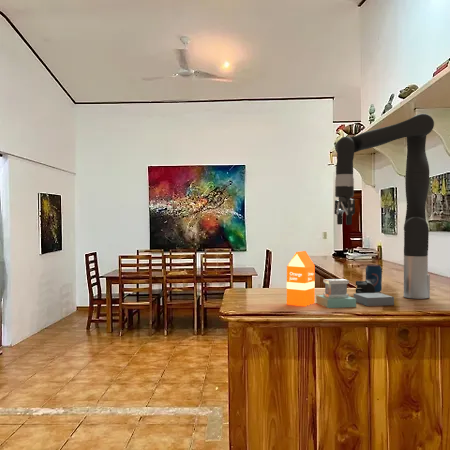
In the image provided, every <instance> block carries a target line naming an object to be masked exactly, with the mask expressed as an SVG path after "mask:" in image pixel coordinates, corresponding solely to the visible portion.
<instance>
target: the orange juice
mask: <svg viewBox="0 0 450 450" xmlns="http://www.w3.org/2000/svg"><path fill="white" fill-rule="evenodd" d="M315 266H316V265H315V264H314V262H313V260H312V259H311V257H310V256H309V255H308V253H307V251H306V250H302V251H296V252H295V253H294V255H293V257H292V258H291V260H290V261H289V262H288V264H287V265H286V305H289V306H297V307H307V305H308V306H310V304H311V305H313V304H315V303H316V302H315V299H316V296H315V293H316V292H315V291H316V290H315V287H316V285H315V284H316V283H315V278H316V277H315V276H316V274H315V270H316V268H315Z"/></svg>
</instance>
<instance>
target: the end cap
mask: <svg viewBox="0 0 450 450" xmlns="http://www.w3.org/2000/svg"><path fill="white" fill-rule="evenodd" d="M355 286H356V288H355V293H375V287H374V286H373V284H372V283H371V282H370V281H369V280H366V279H365V280H356V281H355Z"/></svg>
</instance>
